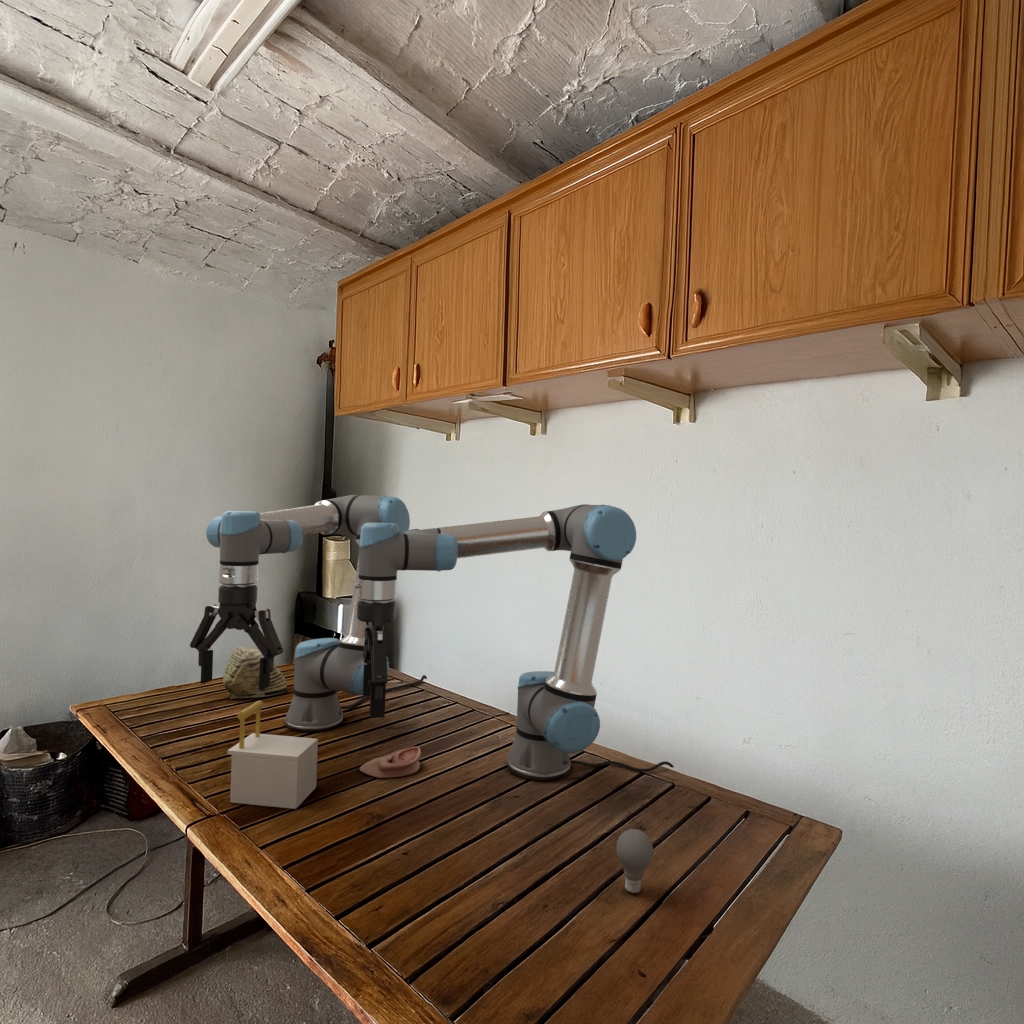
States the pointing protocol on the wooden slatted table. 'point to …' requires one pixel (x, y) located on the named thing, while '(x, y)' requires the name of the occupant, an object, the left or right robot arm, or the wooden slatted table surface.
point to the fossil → (250, 675)
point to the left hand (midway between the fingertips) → (235, 685)
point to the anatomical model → (394, 764)
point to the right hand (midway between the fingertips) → (373, 706)
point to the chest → (273, 780)
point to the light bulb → (634, 857)
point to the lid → (268, 741)
